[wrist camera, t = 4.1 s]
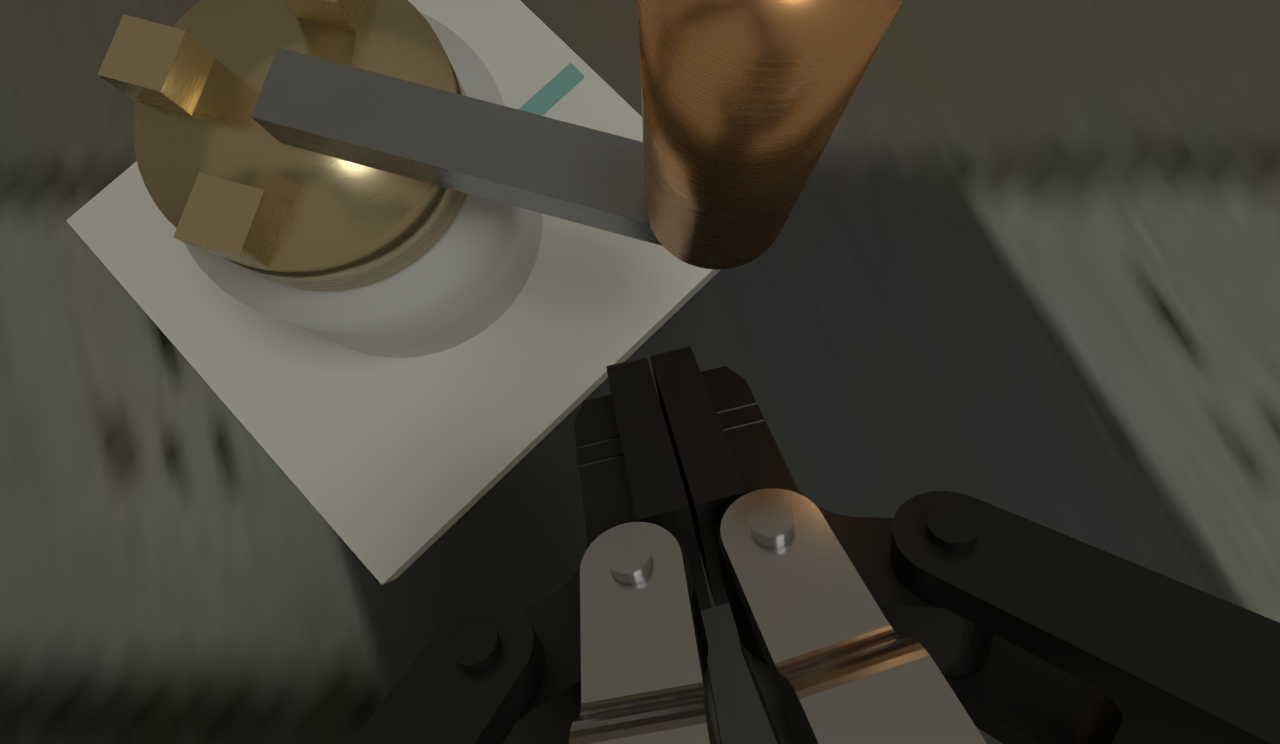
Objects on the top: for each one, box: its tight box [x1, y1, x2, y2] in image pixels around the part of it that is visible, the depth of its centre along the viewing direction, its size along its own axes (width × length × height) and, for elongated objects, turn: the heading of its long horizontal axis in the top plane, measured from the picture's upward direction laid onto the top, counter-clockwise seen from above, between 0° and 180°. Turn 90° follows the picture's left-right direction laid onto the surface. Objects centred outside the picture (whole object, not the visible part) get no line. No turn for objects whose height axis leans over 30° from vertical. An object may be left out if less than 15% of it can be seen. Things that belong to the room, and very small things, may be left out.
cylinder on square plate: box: [67, 0, 721, 585], centre depth 25 cm, size 20×20×8 cm
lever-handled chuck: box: [98, 0, 903, 291], centre depth 15 cm, size 18×9×12 cm, turn 74°
